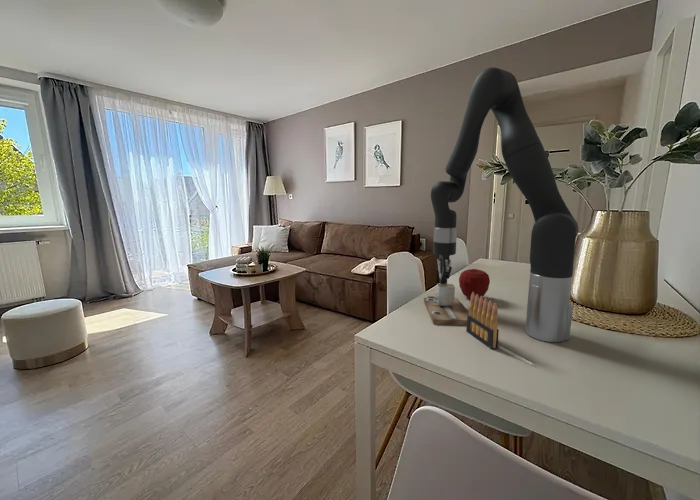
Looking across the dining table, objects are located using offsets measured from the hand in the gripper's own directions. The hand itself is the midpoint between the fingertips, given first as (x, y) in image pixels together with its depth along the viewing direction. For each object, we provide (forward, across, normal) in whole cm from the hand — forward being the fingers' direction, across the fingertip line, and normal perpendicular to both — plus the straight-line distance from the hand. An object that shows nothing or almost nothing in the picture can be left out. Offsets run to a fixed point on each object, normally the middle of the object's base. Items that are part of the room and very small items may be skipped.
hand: (443, 288), depth 103 cm
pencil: (+7, -32, -9) cm, 34 cm away
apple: (+6, +8, -13) cm, 16 cm away
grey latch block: (+4, -5, +1) cm, 6 cm away
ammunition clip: (+6, -26, -5) cm, 27 cm away
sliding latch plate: (+6, -7, 0) cm, 9 cm away
